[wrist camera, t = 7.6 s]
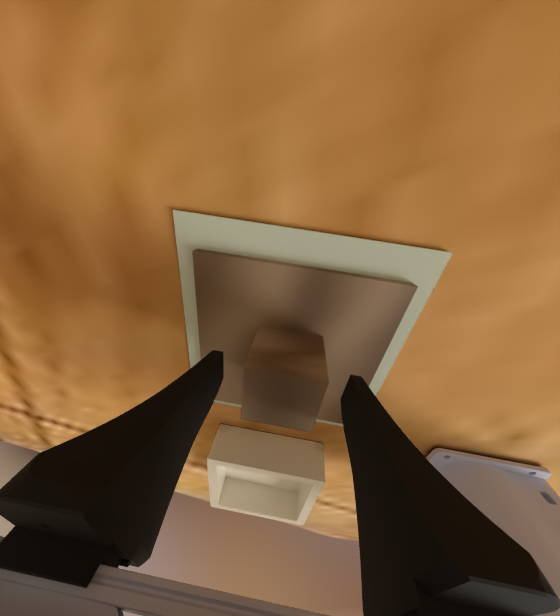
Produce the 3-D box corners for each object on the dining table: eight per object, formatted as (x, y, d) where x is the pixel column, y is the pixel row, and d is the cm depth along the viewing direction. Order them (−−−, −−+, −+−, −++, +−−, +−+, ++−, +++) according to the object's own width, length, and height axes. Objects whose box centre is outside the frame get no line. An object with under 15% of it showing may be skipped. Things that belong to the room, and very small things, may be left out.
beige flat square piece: (448, 251, 10) (452, 253, 10) (357, 426, 17) (358, 429, 17) (175, 209, 11) (172, 209, 10) (195, 395, 18) (193, 398, 18)
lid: (412, 282, 11) (468, 323, 7) (348, 418, 17) (360, 480, 13) (197, 248, 11) (144, 270, 8) (206, 391, 17) (179, 444, 13)
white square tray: (322, 443, 19) (325, 482, 16) (303, 489, 24) (303, 525, 21) (220, 423, 19) (206, 458, 17) (221, 473, 24) (210, 506, 22)
